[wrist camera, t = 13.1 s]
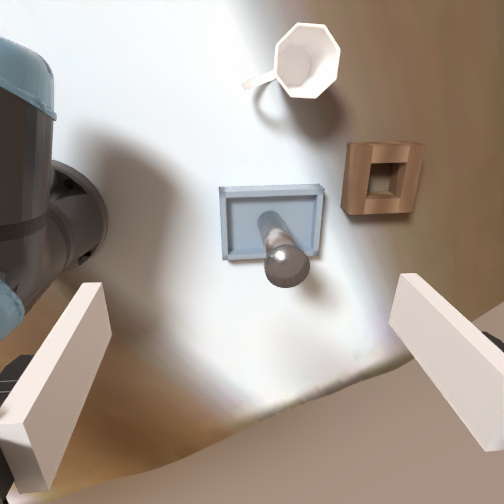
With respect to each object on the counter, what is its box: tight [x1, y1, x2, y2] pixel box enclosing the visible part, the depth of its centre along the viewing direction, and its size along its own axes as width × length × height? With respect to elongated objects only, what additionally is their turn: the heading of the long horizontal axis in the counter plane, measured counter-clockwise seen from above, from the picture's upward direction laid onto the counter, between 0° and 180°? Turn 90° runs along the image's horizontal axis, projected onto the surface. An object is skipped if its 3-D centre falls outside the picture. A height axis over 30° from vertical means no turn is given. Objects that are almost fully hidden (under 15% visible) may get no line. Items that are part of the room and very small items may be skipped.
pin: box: [257, 211, 310, 288], centre depth 42 cm, size 5×5×14 cm
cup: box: [242, 23, 341, 99], centre depth 38 cm, size 7×10×8 cm
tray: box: [219, 184, 324, 260], centre depth 48 cm, size 14×10×2 cm
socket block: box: [341, 141, 426, 215], centre depth 47 cm, size 9×9×4 cm
